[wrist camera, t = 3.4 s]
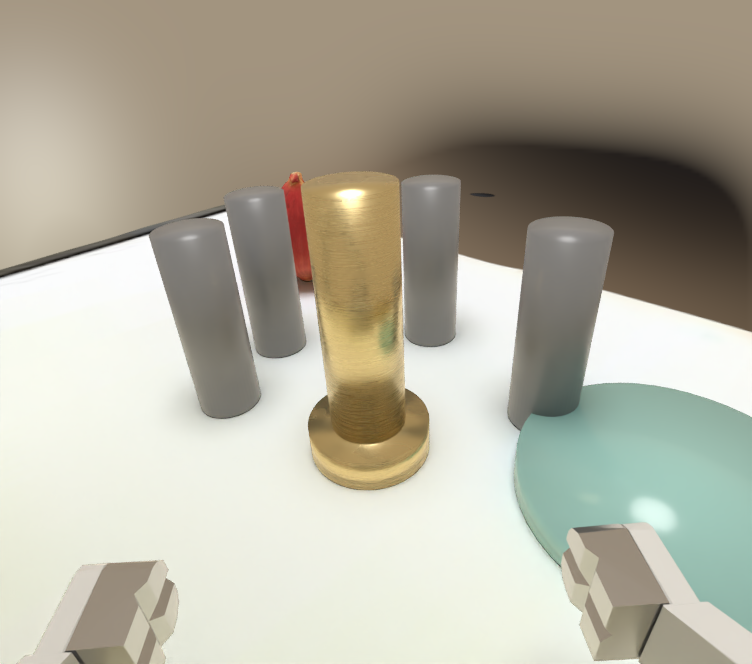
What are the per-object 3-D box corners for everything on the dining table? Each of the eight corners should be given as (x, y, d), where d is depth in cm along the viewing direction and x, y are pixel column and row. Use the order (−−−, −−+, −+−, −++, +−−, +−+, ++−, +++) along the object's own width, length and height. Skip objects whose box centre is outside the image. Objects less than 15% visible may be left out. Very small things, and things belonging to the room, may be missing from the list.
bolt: (308, 494, 20) (257, 213, 14) (315, 410, 24) (279, 170, 18) (437, 484, 20) (442, 200, 14) (420, 402, 24) (419, 160, 18)
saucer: (578, 666, 14) (586, 643, 13) (484, 412, 23) (486, 392, 23) (958, 633, 14) (982, 610, 14) (713, 395, 24) (720, 374, 23)
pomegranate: (252, 284, 37) (231, 176, 33) (307, 258, 41) (294, 158, 37) (307, 304, 34) (290, 187, 30) (361, 274, 38) (353, 166, 33)
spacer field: (175, 466, 21) (106, 277, 17) (227, 334, 31) (192, 190, 26) (585, 434, 22) (629, 240, 17) (513, 314, 31) (528, 168, 26)
